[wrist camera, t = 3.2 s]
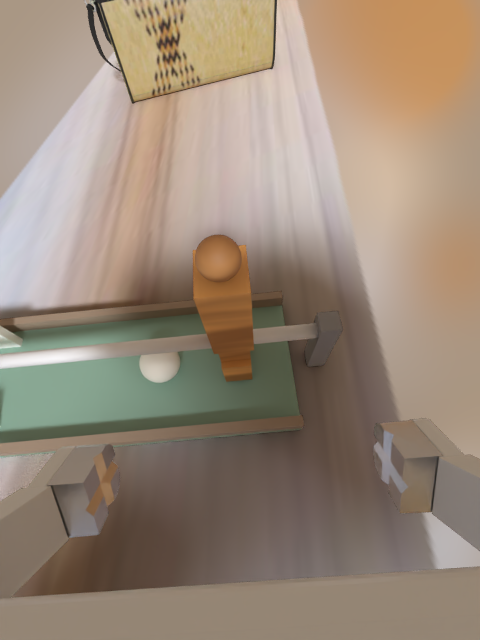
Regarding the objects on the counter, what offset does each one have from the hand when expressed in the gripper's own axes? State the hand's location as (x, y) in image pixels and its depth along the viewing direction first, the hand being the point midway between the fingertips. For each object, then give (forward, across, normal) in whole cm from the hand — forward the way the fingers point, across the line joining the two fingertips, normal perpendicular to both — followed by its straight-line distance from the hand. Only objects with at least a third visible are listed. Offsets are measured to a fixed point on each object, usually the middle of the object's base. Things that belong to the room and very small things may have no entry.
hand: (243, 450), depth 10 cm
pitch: (+20, +12, +7) cm, 24 cm away
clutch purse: (+58, +4, -31) cm, 66 cm away
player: (+19, +1, +6) cm, 20 cm away
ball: (+18, +8, +5) cm, 20 cm away
